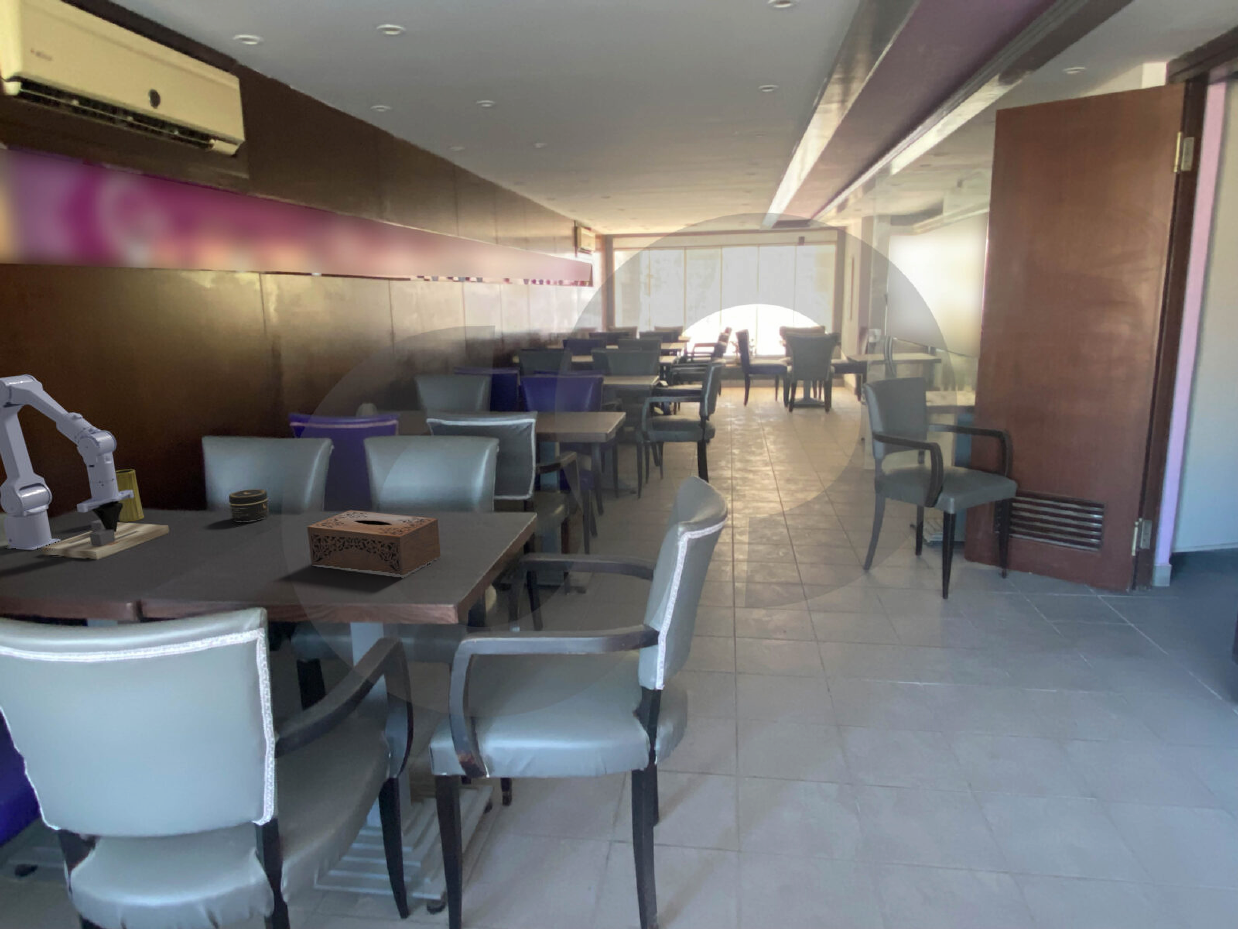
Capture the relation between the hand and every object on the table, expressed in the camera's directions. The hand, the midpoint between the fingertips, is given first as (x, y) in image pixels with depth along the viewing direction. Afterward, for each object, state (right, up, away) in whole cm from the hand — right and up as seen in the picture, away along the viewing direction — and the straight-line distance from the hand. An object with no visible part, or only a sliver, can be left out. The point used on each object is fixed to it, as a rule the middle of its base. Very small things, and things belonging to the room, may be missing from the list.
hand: (111, 531), depth 200 cm
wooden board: (-4, -3, +4) cm, 7 cm away
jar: (+24, +1, +24) cm, 34 cm away
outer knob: (-1, -3, -2) cm, 3 cm away
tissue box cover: (+72, -6, -15) cm, 74 cm away
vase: (-11, +1, +27) cm, 29 cm away
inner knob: (-7, 0, +8) cm, 11 cm away
